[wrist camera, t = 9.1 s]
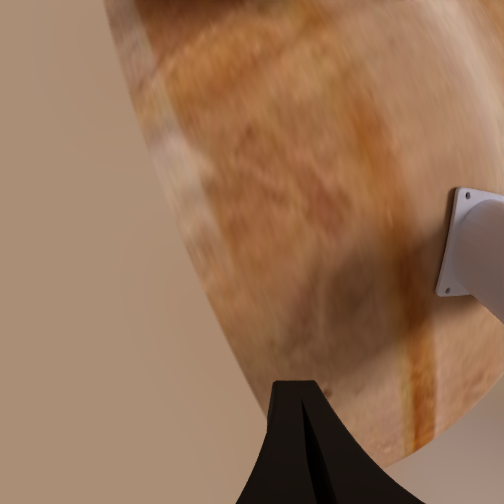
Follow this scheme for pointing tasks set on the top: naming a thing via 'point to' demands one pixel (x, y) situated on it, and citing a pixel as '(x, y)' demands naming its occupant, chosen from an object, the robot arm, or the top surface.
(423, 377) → the top surface
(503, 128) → the top surface
